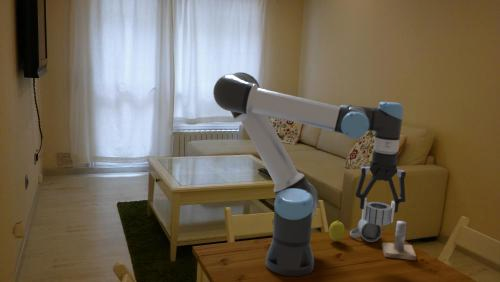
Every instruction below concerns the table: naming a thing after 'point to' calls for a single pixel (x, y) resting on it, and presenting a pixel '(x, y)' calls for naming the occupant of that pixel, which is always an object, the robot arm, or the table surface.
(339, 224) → the lemon
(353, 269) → the table surface
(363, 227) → the ceramic mug
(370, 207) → the ring
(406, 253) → the shaft stand
